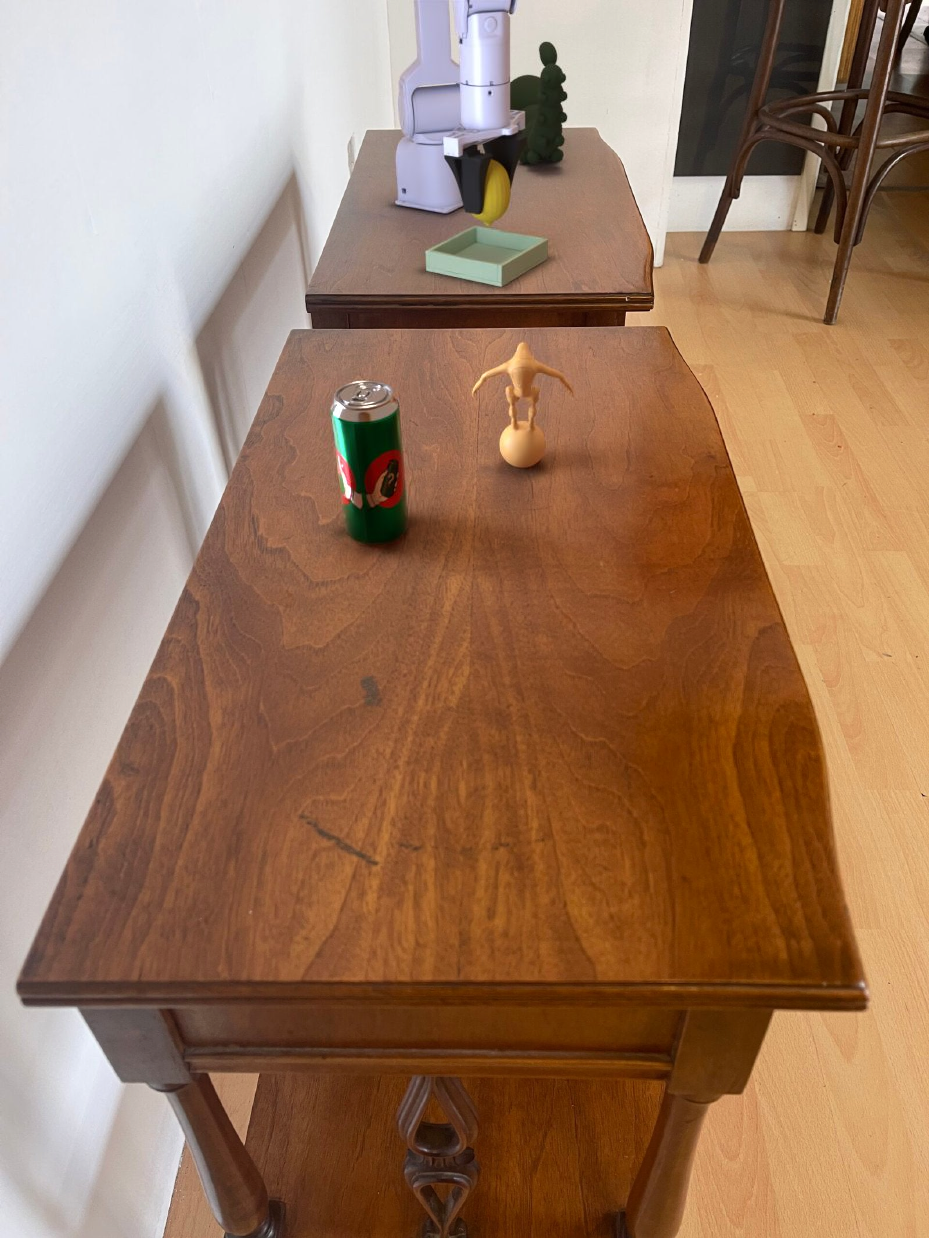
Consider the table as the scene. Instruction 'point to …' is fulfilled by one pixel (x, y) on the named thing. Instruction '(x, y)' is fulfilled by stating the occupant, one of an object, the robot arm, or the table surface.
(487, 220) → the lemon
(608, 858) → the table surface
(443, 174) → the robot arm
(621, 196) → the table surface
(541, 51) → the dark green bumpy figure
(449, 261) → the tray
